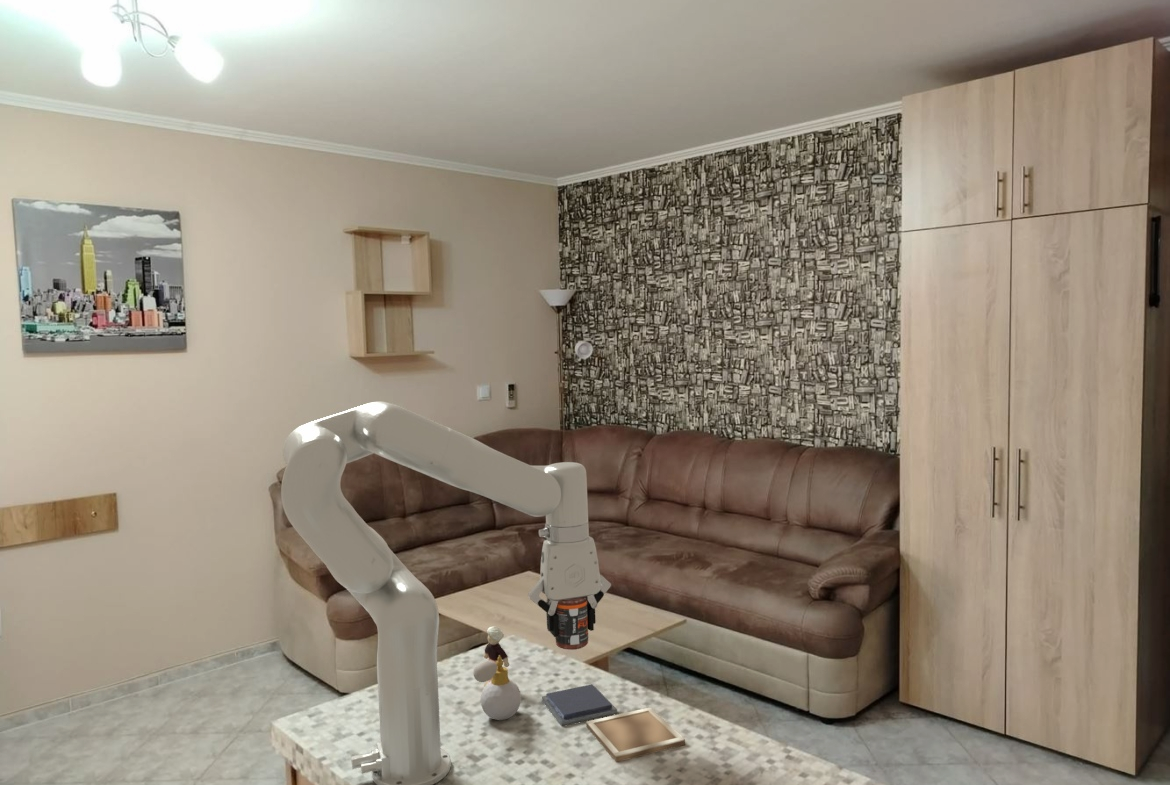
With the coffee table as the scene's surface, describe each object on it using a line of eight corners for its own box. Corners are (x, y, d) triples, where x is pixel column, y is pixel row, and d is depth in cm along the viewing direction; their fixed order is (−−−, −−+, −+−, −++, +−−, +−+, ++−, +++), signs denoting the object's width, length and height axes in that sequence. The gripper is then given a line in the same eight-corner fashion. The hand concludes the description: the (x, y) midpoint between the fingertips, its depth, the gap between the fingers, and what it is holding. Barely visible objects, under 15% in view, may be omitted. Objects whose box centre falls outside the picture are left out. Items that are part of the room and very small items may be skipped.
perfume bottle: (526, 708, 149) (524, 647, 148) (511, 733, 140) (509, 668, 139) (488, 705, 151) (486, 645, 150) (471, 730, 141) (469, 665, 140)
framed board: (616, 761, 129) (615, 756, 129) (586, 726, 141) (586, 721, 141) (685, 744, 134) (685, 739, 134) (650, 712, 146) (650, 707, 146)
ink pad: (561, 726, 142) (561, 717, 142) (541, 701, 152) (541, 692, 152) (617, 714, 146) (616, 705, 146) (594, 690, 156) (593, 682, 156)
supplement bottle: (584, 652, 137) (581, 588, 136) (551, 650, 138) (548, 587, 138) (592, 639, 143) (589, 578, 142) (560, 637, 144) (558, 577, 143)
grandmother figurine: (475, 687, 159) (473, 626, 158) (488, 680, 162) (486, 620, 161) (504, 696, 155) (502, 633, 154) (517, 689, 158) (514, 627, 157)
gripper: (526, 543, 133) (531, 647, 134) (620, 531, 139) (624, 630, 140) (515, 533, 140) (519, 632, 141) (604, 522, 146) (608, 616, 147)
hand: (571, 630), depth 141 cm, fingers closed on supplement bottle, 6 cm apart
